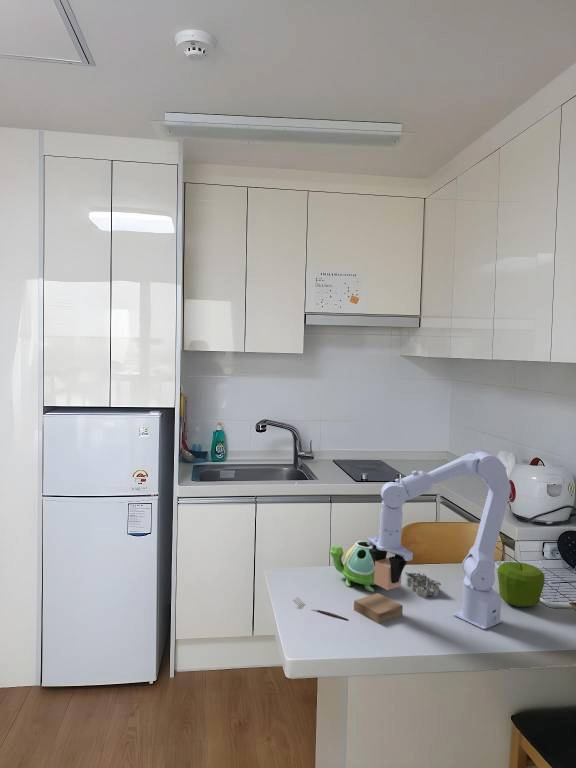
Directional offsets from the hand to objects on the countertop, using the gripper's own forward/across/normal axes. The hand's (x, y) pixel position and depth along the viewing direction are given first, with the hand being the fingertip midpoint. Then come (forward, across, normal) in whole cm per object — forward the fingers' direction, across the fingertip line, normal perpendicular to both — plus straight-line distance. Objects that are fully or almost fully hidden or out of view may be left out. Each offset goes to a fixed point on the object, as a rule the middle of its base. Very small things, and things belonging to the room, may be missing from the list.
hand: (387, 578), depth 156 cm
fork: (+10, -9, -15) cm, 20 cm away
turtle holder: (+9, -18, +8) cm, 21 cm away
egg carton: (+10, -4, +20) cm, 23 cm away
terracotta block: (+2, 0, 0) cm, 2 cm away
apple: (+9, +16, +37) cm, 41 cm away
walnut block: (+10, -1, -2) cm, 10 cm away
